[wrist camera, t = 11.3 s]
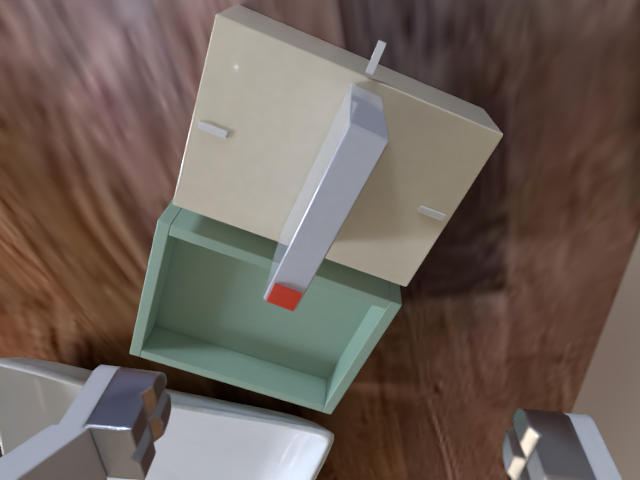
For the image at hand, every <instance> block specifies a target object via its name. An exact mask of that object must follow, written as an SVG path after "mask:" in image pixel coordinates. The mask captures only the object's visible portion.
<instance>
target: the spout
mask: <svg viewBox="0 0 640 480" xmlns="http://www.w3.org/2000/svg"><path fill="white" fill-rule="evenodd" d="M388 144H389V137H388V131H387V125H386V119H385V113H384V107H383V101H382V98H381V97H379V96H377V95H375V94H373V93H371V92H369V91H367V90H365V89H363V88H360V87H358V86H356V85H354V84H351V85H350V86H349V88H348V91H347V93H346V95H345V97H344V99H343V101H342V103H341V106H340V108H339V110H338V112H337V114H336V116H335V118H334V120H333V123H332V125H331V127H330V129H329V131H328V133H327V135H326V137H325V140H324V142H323V144H322V146H321V148H320V150H319V152H318V154H317V157H316V159H315V161H314V163H313V165H312V167H311V169H310V172H309V174H308V176H307V178H306V180H305V182H304V184H303V186H302V189H301V191H300V193H299V195H298V197H297V199H296V201H295V203H294V206H293V208H292V210H291V212H290V214H289V216H288V218H287V220H286V223H285V225H284V227H283V229H282V231H281V233H280V236H279V240H278V244H277V248H276V251H275V255H274V259H273V263H272V267H271V270H270V274H269V278H268V282H267V286H266V289H265V293H264V297H263V298H264V300H266V301H267V302H269V303H272V304H274V305H277V306H280V307H282V308H285V309H288V310H290V311H295V310H296V309H297V307H298V305H299V303H300V302H301V300H302V298H303V296H304V294H305V293H306V291H307V289H308V287H309V285H310V284H311V282H312V280H313V278H314V276H315V275H316V273H317V271H318V269H319V268H320V266H321V264H322V262H323V260H324V259H325V257H326V255H327V253H328V251H329V250H330V248H331V246H332V244H333V242H334V241H335V239H336V237H337V235H338V233H339V232H340V230H341V228H342V226H343V224H344V223H345V221H346V219H347V217H348V215H349V214H350V212H351V210H352V208H353V206H354V205H355V203H356V201H357V199H358V197H359V196H360V194H361V192H362V190H363V188H364V187H365V185H366V183H367V181H368V180H369V178H370V176H371V174H372V172H373V171H374V169H375V167H376V165H377V163H378V162H379V160H380V158H381V156H382V154H383V153H384V151H385V149H386V147H387V145H388Z"/></svg>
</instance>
